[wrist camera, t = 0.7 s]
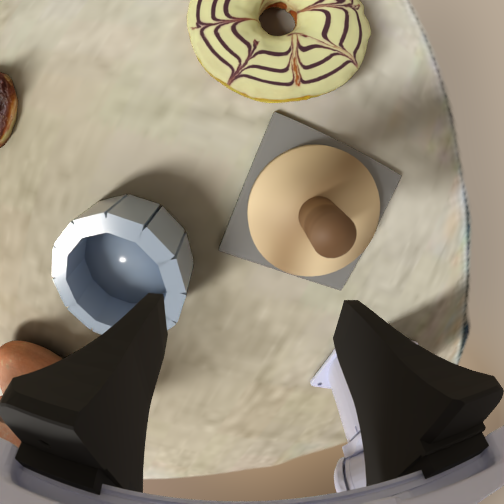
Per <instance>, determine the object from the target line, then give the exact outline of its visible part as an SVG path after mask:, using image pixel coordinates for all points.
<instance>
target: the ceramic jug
mask: <svg viewBox="0 0 504 504" xmlns="http://www.w3.org/2000/svg"><path fill="white" fill-rule="evenodd" d="M62 359H63V358H61V357H60V356H58V355H57V354H55V353H53V352H52V351H50V350H48V349H46V348H44V347H42V346H39V345H37V344H34V343H31V342H27V341H11V342H8V343H5V344H4V345H2V346H1V347H0V387H1V390H2V393H3V394H4V392H5V390H6V389H7V387H8V385H9V383H10V382H11V380H12V378H14V377H18V376H21V375H24V374H27V373H30V372H33V371H36V370H39V369H42V368H44V367H46V366H49V365H51V364H53V363H56V362H58V361H60V360H62ZM2 396H3V395H2ZM2 396H1V397H0V399H1V398H2ZM0 437H1V438H3V439H5V440H7V441H9V442H11V443H12V444H14V445H15V446H17V447H18V448H19V446H20V444H21V441H20V439H19V438H18V437H17V436H16V435H15V434H14V433H13V432H12V430H11V429H10V428H9V427H8V426H7V424H6V423H5V422H4V421H3V419H2V418H1V416H0Z"/></svg>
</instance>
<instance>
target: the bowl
mask: <svg viewBox="0 0 504 504" xmlns="http://www.w3.org/2000/svg"><path fill="white" fill-rule="evenodd" d="M159 206H160V204H158V203H155V202H152V201H149V200H145V199H142V198H139V197H136V196H133V195H130V194H129V195H128V196H127V194H125V195H121V196H117V197H113V198H109V199H105V200H101V201H98V202H97V203H95V204H94V205H93V206H91V207H90V208H88V209H87V210H86V211H84V212H83V213H82V214H80V215H79V216H78V217H76V218H75V219H74V220H73V221H71V222H70V224H69V225H68V226H67V227H66V229H65V230H64V231H63V233H62V234H61V235H60V237H59V238H58V239H57V241H56V242H55V244H54V247H53V254H52V276H53V277H54V278H53V281H54V284H55V286H56V288H57V290H58V292H59V294H60V297H61V299H62V301H63V303H64V305H65V307H66V306H69V307H68V308H67V309H68V310H69V311H70V312H71V313H72V314H73V315H74V316H75V317H76V318H77V319H79V320H80V321H81V322H82V323H83V324H84V325H85V326H86V327H88V328H89V329H91V328H93V332H96V333H98V334H101V335H102V334H103V333H105V332H106V331H107V330H108V329H109V328H111V327H112V326H113V325H114V324H115V323H117V322H118V321H119V320H120V319H121V318H122V317H123V316H124V315H126V314H127V313H128V312H129V311H130V310H131V309H132V308H133V307H134V306H135V305H136V304H137V303H138V302H139V301H140V300H141V299H143V298H144V297H145V296H146V295H147V294H148V293H156V294H163V295H164V305H165V315H166V324H167V330H169V329H170V328H171V327H173V326H174V325H176V322H178V319H179V316H180V313H181V310H182V307H183V304H184V300H185V297H186V294H187V290H188V286H189V282H190V277H191V273H192V269H193V265H194V264H193V263H194V261H193V257H192V253H191V249H190V245H189V241H188V237H187V233H184V231H185V230H184V228H183V227H182V226H181V225H180V224H179V223H178V222H177V221H176V220H175V219H174V218H173V217H172V216H171V215H170V213H169V212H168V211H167V210H166V209H165V208H164V207H163V206H162V207H161V208H160V209H159ZM158 209H159V210H158Z"/></svg>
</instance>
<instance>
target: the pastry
mask: <svg viewBox="0 0 504 504" xmlns="http://www.w3.org/2000/svg"><path fill="white" fill-rule="evenodd" d="M17 108H18V98H17V95H16V92H15V89H14V85H13V82H12V80H11V78H10V77H9V76H8V75H7V74H4V73H1V72H0V148H1V147H3V146H4V145H5V143H6V142H7V141H8V139H9V138H10V136H11V133H12V130H13V127H14V125H15V122H16V119H17Z"/></svg>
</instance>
